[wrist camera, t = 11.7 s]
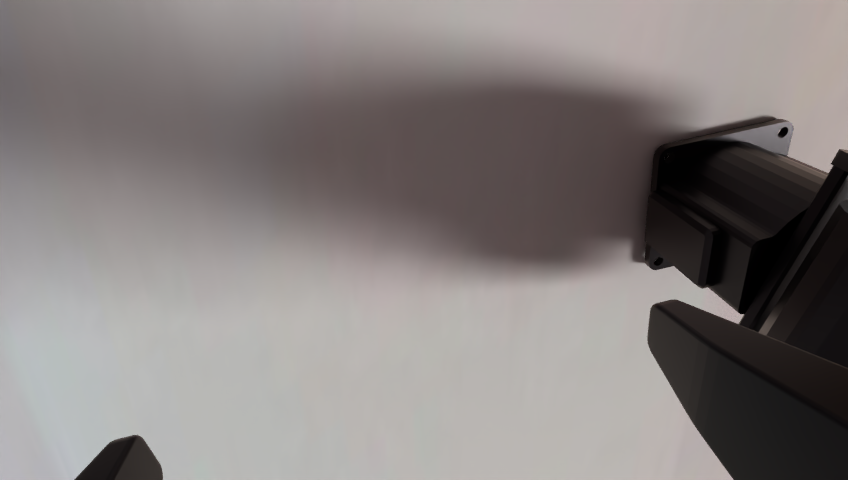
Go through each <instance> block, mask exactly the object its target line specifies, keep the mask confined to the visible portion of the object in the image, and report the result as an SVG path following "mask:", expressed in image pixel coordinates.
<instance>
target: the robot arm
mask: <svg viewBox="0 0 848 480" xmlns="http://www.w3.org/2000/svg"><path fill="white" fill-rule="evenodd" d="M780 129H781V130H780ZM779 130H780V132H779ZM778 132H779V133H778ZM792 133H793V125H792V123H791V122H789V121H786V120H783V119H777V120H773V121H768V122H764V123H759V124H754V125H750V126H745V127H741V128H736V129H732V130H727V131H723V132H718V133H714V134H709V135H705V136H700V137H696V138H691V139H687V140H682V141H677V142H673V143H668V144H664V145H662V146H660V147H659V148H658V149H657V150H656V152H655V154H654V160H653V171H652V182H651V193H650V196H649V200H648V211H647V223H646V234H645V241H646V250H645V263H646V264H647V265H648V266H649V267H650V268H651V269H653V270H659V269H663V268H667V267H671V266H675V267H676V268H677V269H678V270H679V271H680V272H682V273H683V274H684V275H685V276H686V277H687V278H689V279H690V280H691V281H692V282H693V283H694V284H696V285H697V286H698V287H700V288H706V287H708V288H710V289H711V290H712V291H713V292H714V293H716V294H717V295H718V296H719V297H720V298H722V299H723V300H724V301H725V302H726V303H728V304H729V305H730V306H731V307H732V308H734V309H735V310H736V311H737V312H738V313H740V314H744V316H743V317H742V319H741V321H740V322H739V324H736V323H734V322H731V321H729V320H726V319H724V318H721V317H719V316H716V315H714V314H711V313H709V312H706V311H704V310H701V309H699V308H696V307H694V306H691V305H689V304H686V303H684V302H681V301H678V300H668V301H664V302H660V303H656V304H654V305H653V306H652V307H651V310H650V318H649V327H648V345H649V348H650V351H651V352H652V354H653V356H654V358H655V359H656V361H657V363H658V365H659V366H660V368H661V370H662V371H663V373H664V375H665V377H666V378H667V380H668V382H669V383H670V385H671V387H672V389H673V390H674V392H675V394H676V395H677V397H678V399H679V401H680V402H681V404H682V406H683V407H684V409H685V411H686V413H687V414H688V416H689V417H690V419H691V421H692V422H693V424H694V425H695V427H696V428H697V430H698V431H699V433H700V434H701V435H702V437H703V438H704V440H705V441H706V442H707V444H708V445H709V447H710V448H711V449H712V451H713V452H714V453H715V455H716V456H717V458H718V459H719V460H720V462H721V463H722V464H723V466H724V467H725V468H726V470H727V471H728V473H729V474H730V475H731V477H732V478H733V479H734V480H848V150H842V149H839V151H838V153H837V154H836V156H835V158H834V159H833V161H832V163H831V164H832V165H833V167H832V169H831V170H830V172H829V173H826V172H824V171H821V170H819V169H817V168H814V167H812V166H810V165H807V164H805V163H802V162H800V161H798V160H795V159H793V158H790V157H788V156H787V155H788V150H789V146H790V142H791V137H792ZM668 153H670V154H669V157H668V158H667V159H665V160H664V158H665V156H666V155H667V154H668ZM656 258H658V259H657V260H656V261H655V259H656ZM75 480H163V473H162V468H161V465H160V463H159V462H158V460H157V459H156V457H155V456H154V454H153V453H152V451H151V450H150V448H149V447H148V445H147V444H146V442H145V441H144V439H143V438H142V437H140V436H138V435H132V436H128V437H124V438H120V439H117V440H114V441H112V442H110V443H109V444H108V445H107V446H106V447H105V448H104V449H103V450H102V451H101V452H100V453H99V454H98V455H97V456H96V457H95V458H94V459H93V461H92V462H91V463H90V464H89V465H88V466H87V467H86V468H85V469H84V470H83V471H82V472H81V473H80V474H79V475H78V476H77V478H76V479H75Z"/></svg>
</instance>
